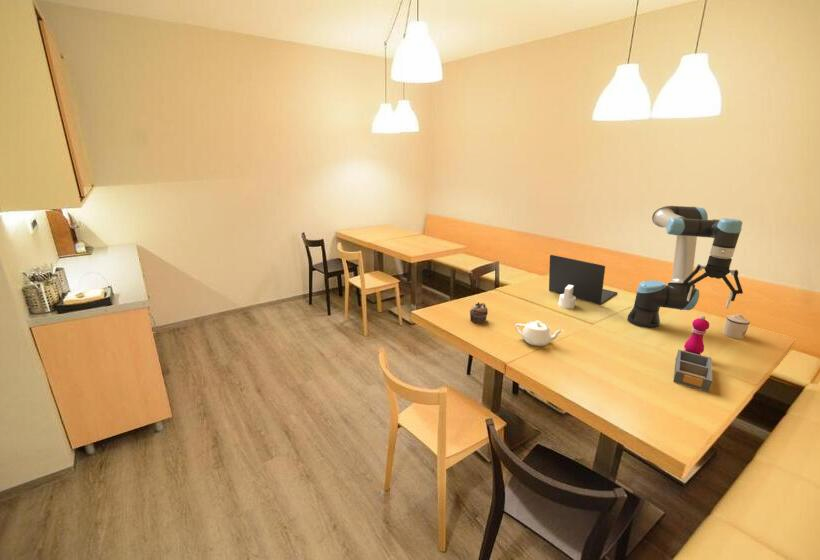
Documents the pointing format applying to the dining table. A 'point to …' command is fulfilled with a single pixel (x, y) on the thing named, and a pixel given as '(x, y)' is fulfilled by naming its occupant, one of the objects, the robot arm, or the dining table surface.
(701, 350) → the pepper mill
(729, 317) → the teacup with lid
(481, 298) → the dining table surface
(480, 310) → the cupcake
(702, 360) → the rack
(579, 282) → the laptop
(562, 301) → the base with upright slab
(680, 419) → the dining table surface
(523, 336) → the teapot
